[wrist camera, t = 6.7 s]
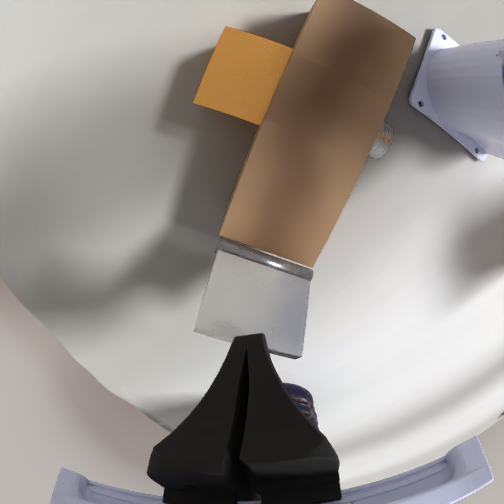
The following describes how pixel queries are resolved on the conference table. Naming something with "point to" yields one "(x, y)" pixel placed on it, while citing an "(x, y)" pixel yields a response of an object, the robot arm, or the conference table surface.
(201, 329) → the plate
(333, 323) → the conference table surface
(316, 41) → the block
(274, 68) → the orange block
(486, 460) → the robot arm
